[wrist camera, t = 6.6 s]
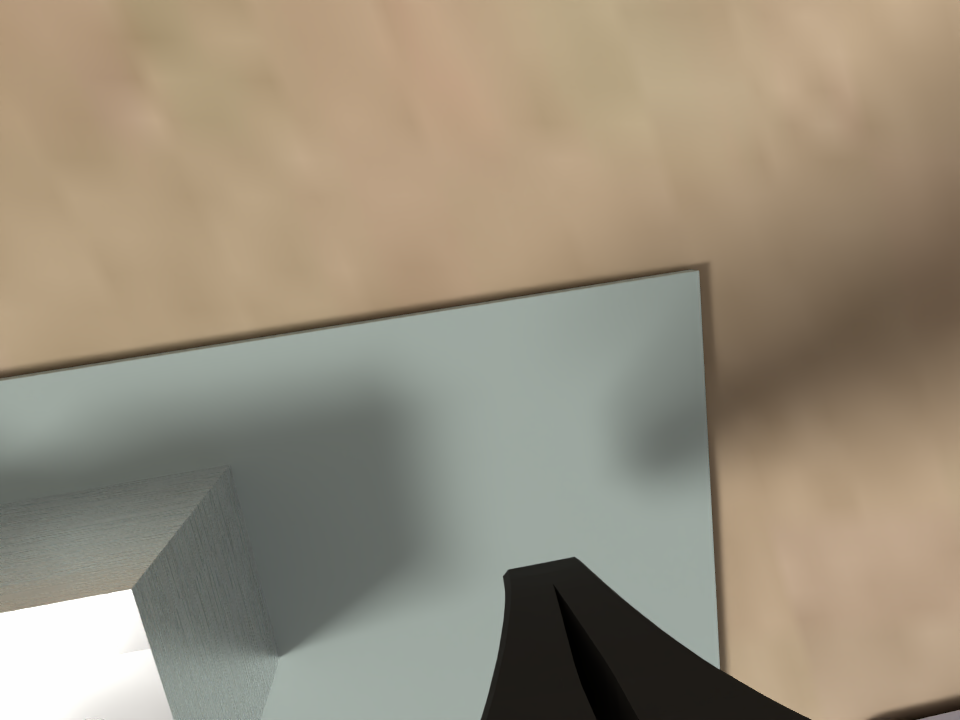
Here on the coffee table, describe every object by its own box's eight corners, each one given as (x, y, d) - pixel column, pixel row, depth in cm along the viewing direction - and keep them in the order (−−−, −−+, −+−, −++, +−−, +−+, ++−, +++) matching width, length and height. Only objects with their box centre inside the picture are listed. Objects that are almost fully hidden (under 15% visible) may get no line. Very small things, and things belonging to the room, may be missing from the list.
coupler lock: (229, 464, 12) (131, 588, 8) (280, 656, 14) (217, 856, 9) (-61, 514, 12) (-332, 675, 8) (16, 709, 13) (-180, 946, 9)
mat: (690, 269, 13) (698, 270, 13) (714, 699, 16) (722, 711, 16) (-361, 435, 11) (-388, 442, 11) (-128, 885, 14) (-144, 904, 14)
